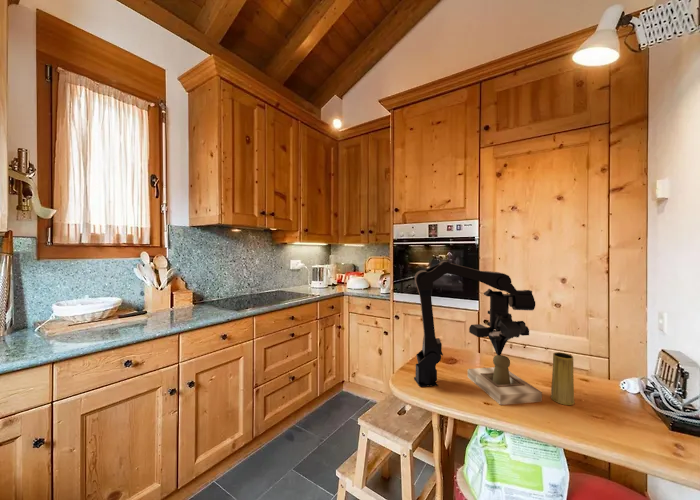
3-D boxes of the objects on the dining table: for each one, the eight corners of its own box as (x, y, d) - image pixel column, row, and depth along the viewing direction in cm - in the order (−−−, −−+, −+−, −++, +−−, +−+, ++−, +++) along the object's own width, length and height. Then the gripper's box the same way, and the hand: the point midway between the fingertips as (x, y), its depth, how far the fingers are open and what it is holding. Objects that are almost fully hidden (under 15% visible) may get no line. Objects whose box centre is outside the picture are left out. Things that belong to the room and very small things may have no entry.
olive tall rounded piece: (515, 392, 97) (515, 359, 97) (496, 392, 97) (496, 359, 97) (505, 384, 103) (506, 353, 103) (488, 384, 103) (488, 352, 103)
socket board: (500, 404, 90) (500, 394, 90) (467, 376, 109) (467, 368, 109) (541, 401, 92) (541, 391, 92) (502, 374, 111) (502, 365, 111)
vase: (570, 397, 95) (570, 353, 94) (578, 407, 89) (578, 360, 88) (548, 394, 97) (548, 350, 96) (554, 403, 91) (554, 357, 90)
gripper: (487, 315, 91) (486, 365, 92) (542, 314, 94) (541, 362, 94) (468, 308, 103) (468, 352, 103) (518, 306, 105) (517, 350, 105)
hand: (498, 354), depth 101 cm, fingers closed
